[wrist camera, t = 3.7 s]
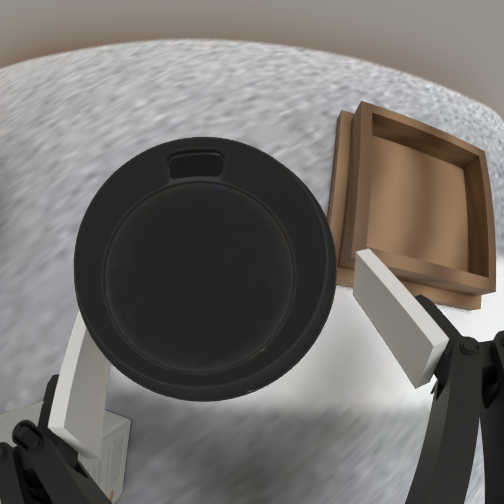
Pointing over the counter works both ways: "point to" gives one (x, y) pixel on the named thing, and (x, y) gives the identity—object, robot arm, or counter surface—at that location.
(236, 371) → the coffee cup
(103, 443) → the small box
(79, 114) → the counter surface
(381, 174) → the wooden tray
